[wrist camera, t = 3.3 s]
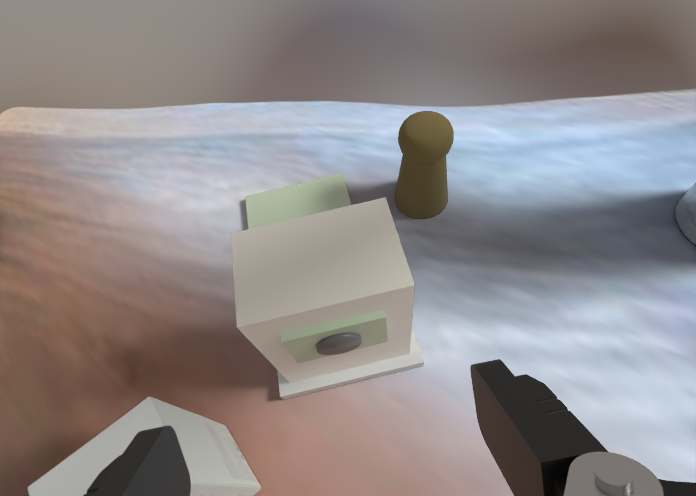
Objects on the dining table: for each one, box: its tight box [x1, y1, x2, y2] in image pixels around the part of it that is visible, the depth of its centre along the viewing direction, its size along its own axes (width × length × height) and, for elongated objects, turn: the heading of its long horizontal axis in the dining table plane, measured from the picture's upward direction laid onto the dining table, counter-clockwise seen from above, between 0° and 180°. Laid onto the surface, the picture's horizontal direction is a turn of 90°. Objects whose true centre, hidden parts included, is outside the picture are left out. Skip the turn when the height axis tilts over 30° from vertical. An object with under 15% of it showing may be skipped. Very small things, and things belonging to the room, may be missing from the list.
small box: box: [28, 396, 261, 496], centre depth 28 cm, size 8×6×13 cm
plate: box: [245, 174, 351, 229], centre depth 46 cm, size 12×12×1 cm
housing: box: [231, 197, 424, 400], centre depth 33 cm, size 13×9×15 cm
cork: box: [395, 111, 454, 219], centre depth 42 cm, size 6×6×11 cm
